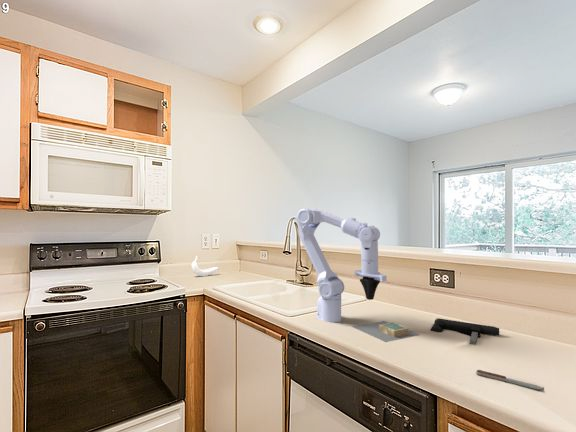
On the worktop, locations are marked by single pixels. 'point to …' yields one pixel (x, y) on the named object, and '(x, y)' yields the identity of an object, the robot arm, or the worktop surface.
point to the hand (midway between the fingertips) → (370, 299)
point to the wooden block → (393, 329)
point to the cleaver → (505, 379)
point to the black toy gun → (465, 328)
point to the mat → (374, 330)
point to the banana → (200, 271)
